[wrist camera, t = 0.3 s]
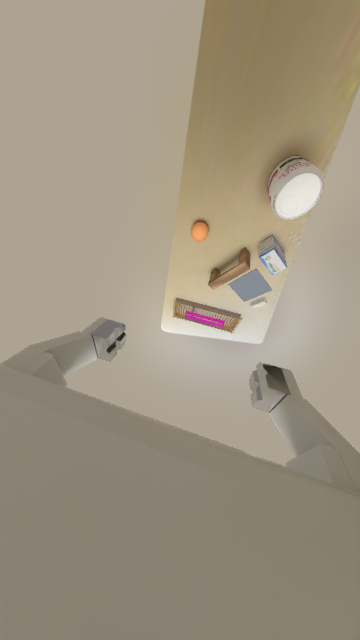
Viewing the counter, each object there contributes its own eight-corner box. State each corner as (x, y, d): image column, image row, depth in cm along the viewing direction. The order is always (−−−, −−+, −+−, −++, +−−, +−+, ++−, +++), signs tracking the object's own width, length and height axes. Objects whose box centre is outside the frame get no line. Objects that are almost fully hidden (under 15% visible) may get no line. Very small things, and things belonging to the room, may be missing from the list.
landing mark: (256, 268, 57) (256, 269, 57) (272, 289, 62) (272, 290, 62) (228, 284, 65) (228, 284, 65) (244, 301, 70) (244, 301, 70)
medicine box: (284, 252, 50) (288, 267, 45) (270, 261, 54) (272, 275, 49) (272, 234, 47) (274, 248, 42) (257, 244, 51) (258, 258, 46)
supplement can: (279, 207, 42) (286, 231, 33) (260, 182, 39) (263, 201, 31) (315, 175, 36) (335, 194, 27) (296, 144, 33) (311, 153, 25)
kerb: (264, 296, 65) (264, 301, 64) (266, 299, 66) (267, 303, 65) (250, 302, 70) (250, 306, 68) (253, 305, 71) (253, 309, 69)
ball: (201, 215, 48) (198, 221, 45) (213, 229, 51) (210, 236, 48) (189, 227, 52) (185, 235, 49) (200, 240, 55) (197, 248, 51)
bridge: (211, 270, 63) (208, 284, 57) (245, 247, 52) (244, 262, 47) (216, 275, 64) (213, 289, 58) (250, 253, 54) (250, 268, 48)
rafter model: (174, 312, 92) (171, 320, 88) (175, 295, 80) (172, 303, 77) (232, 328, 88) (232, 337, 85) (243, 312, 77) (242, 322, 73)
